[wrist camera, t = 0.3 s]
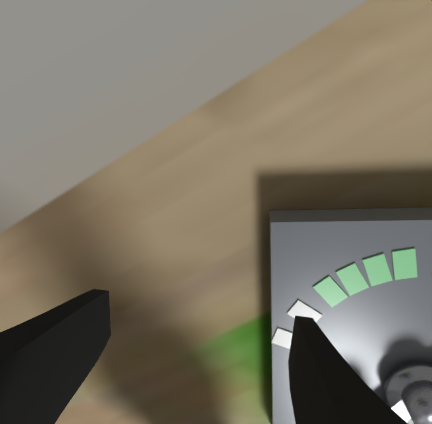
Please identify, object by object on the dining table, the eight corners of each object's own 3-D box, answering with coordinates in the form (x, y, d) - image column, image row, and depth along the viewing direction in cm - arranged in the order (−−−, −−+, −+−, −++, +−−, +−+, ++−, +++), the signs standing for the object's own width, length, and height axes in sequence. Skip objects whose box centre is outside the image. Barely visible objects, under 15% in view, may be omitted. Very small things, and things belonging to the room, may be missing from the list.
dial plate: (486, 445, 23) (513, 484, 20) (271, 427, 25) (273, 460, 23) (547, 204, 18) (593, 218, 15) (268, 210, 20) (269, 222, 18)
